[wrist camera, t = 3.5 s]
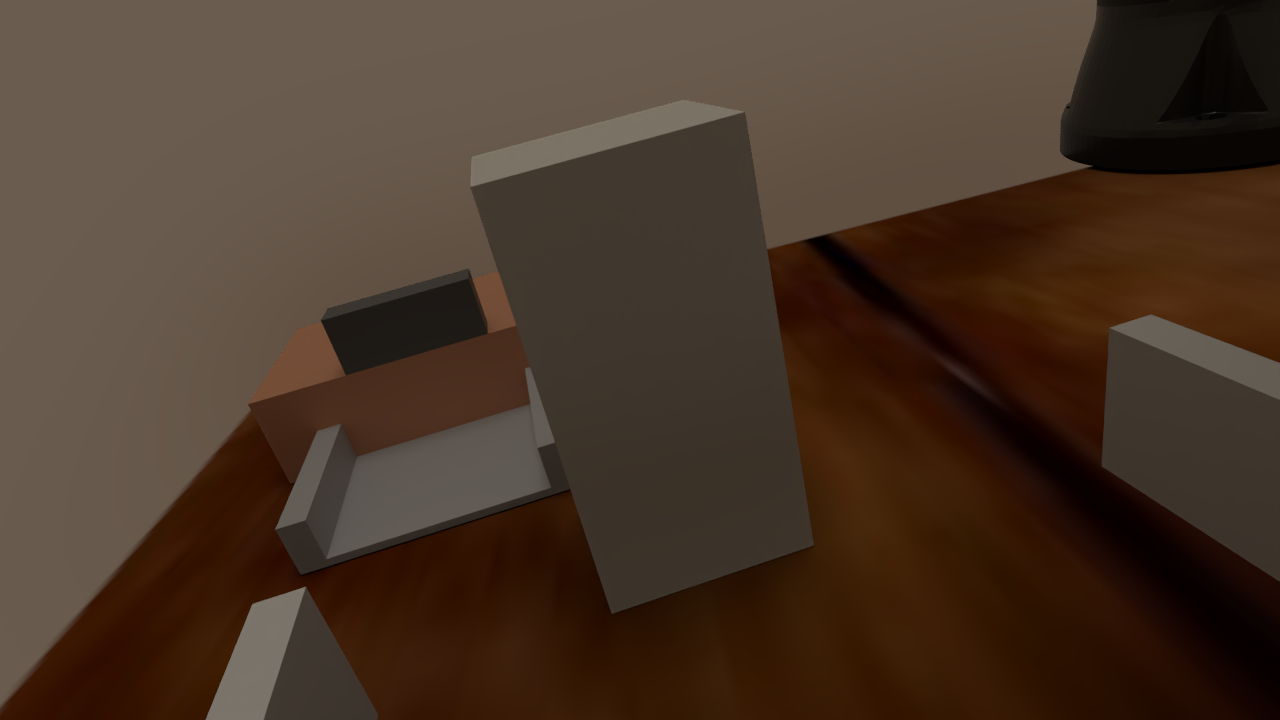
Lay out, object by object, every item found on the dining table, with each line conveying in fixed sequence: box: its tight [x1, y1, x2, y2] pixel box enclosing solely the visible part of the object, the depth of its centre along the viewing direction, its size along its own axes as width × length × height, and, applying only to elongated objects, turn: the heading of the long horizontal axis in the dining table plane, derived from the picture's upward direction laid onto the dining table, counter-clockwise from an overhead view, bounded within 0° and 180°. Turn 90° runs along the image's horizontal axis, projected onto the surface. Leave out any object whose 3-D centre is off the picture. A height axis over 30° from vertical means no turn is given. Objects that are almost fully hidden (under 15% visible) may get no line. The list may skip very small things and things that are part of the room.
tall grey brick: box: [470, 100, 814, 614], centre depth 20 cm, size 6×5×12 cm
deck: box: [248, 269, 570, 575], centre depth 31 cm, size 22×16×7 cm
